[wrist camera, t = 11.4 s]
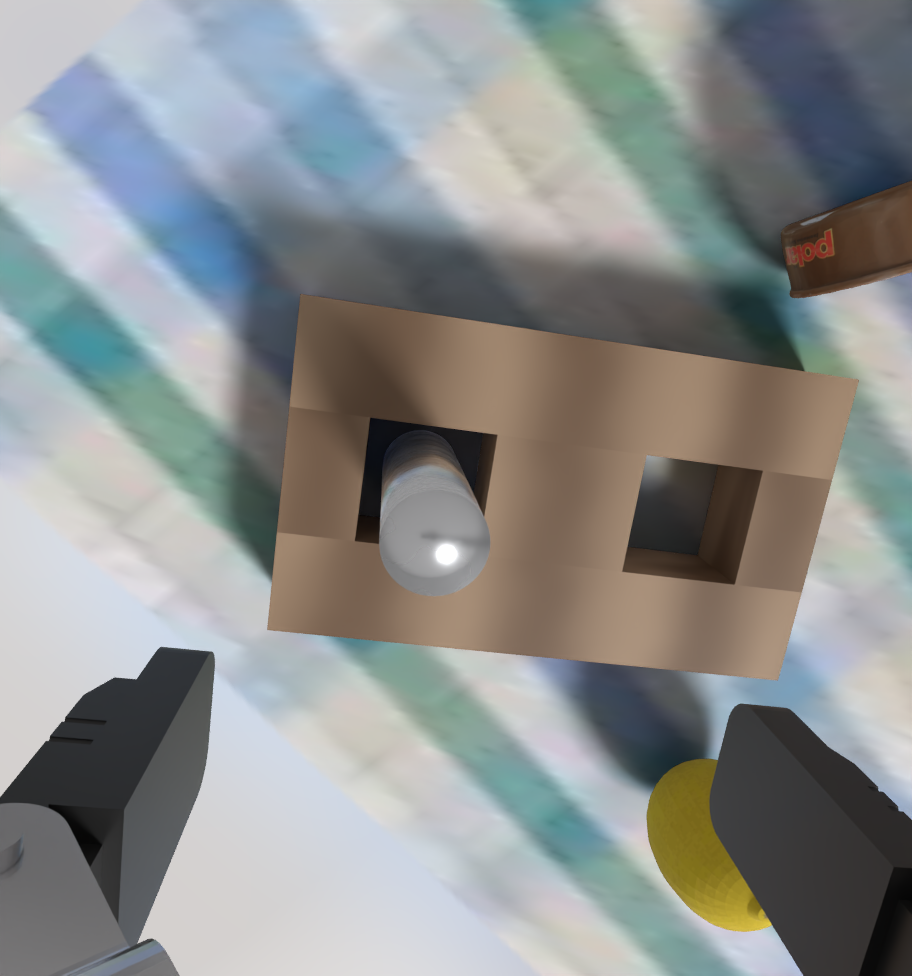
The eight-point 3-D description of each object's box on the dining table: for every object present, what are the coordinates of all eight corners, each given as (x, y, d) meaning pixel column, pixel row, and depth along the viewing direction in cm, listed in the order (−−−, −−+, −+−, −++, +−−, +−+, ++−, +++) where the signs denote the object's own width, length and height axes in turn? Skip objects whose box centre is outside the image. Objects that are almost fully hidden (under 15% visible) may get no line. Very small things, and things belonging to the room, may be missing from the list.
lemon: (605, 757, 33) (670, 892, 26) (715, 704, 33) (814, 824, 25) (649, 847, 35) (725, 1002, 27) (755, 797, 35) (861, 937, 27)
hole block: (805, 371, 30) (859, 379, 26) (737, 641, 32) (777, 680, 29) (311, 295, 27) (300, 294, 24) (280, 594, 30) (267, 629, 27)
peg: (462, 435, 29) (498, 497, 20) (451, 507, 30) (481, 601, 20) (387, 425, 29) (387, 483, 19) (378, 498, 30) (372, 590, 20)
